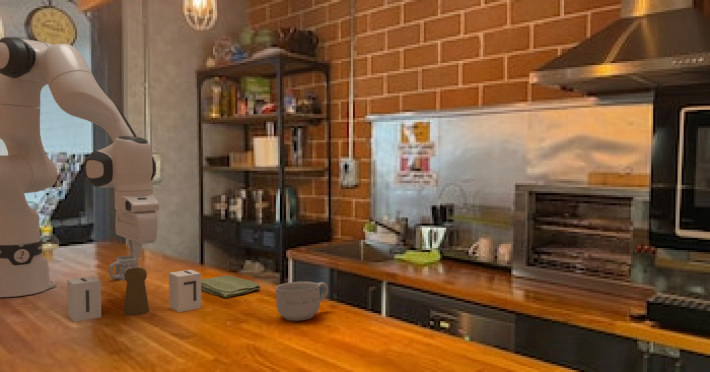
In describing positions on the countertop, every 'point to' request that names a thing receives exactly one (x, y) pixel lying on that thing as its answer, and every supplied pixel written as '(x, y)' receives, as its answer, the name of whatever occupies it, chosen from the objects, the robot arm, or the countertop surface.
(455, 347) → the countertop surface
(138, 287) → the dark brown tapered piece
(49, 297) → the countertop surface
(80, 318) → the grey marked block
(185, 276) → the cream marked block
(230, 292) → the washcloth
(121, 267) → the mug
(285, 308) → the teacup
